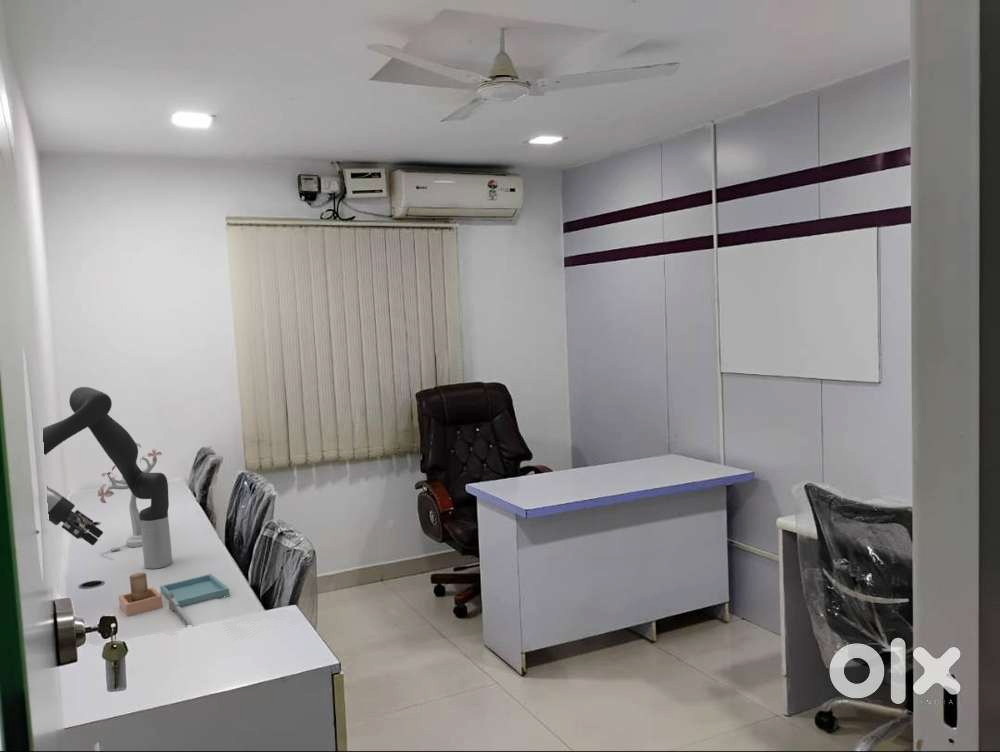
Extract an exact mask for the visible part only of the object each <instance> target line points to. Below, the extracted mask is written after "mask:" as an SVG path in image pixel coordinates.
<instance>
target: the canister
mask: <svg viewBox="0 0 1000 752" xmlns="http://www.w3.org/2000/svg"><path fill="white" fill-rule="evenodd" d="M129 584H130V593H131V595H132V602H136V601H140V600H144V599H148V581H147V573H146V572H137V573H133V574H131V575H129Z"/></svg>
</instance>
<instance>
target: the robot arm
mask: <svg viewBox="0 0 1000 752" xmlns="http://www.w3.org/2000/svg"><path fill="white" fill-rule="evenodd" d="M69 396H70V397H69V402H68V403H69V407H70V409H71V410H72V412H73V414H71V415H70V416H68V417H66V418H64V419H62V420H60V421H58V422H55V423H52V424H50V425H47V426H45V427H43V442H44V454H45V456H47V455H48V454H49V453H50V452H51V451H52V450H54V449H55V448H56V447H58V446H59V445H60V444H63V442H65V441H67V440H68V439H70V438H71V437H73V436H74V435H76V434H77V433H80V432H81V431H83V430H85V429H89V430H90V432H91V434H92V435H93V436H94V438H95V440H96V441H97V442H98V444H99V445H100V446H101V448H102V450H103V451H104V452H105V454H106V456H107V457H108V458H109V459H110V460H111V462H112V463H113V464H114V466H115V465H116V467H115V468H116V469H118V471H119V473H120V474H121V476H123V477H124V479H125V481H126V483H127V485H128V487H129V489H128V490H129V491H130V492H131V493H133V495H134V496H135V497H136V499H140V500H150V506H148V507H146V508H144V509H142V510H140V511H139V516H140V526H141V536H142V546H141V547H142V552H143V553H142V554H143V565H144V568H145V569H151V570H152V569H161V568H165V567H168V566H170V565H172V564H173V554H172V552H173V551H172V543H171V541H172V540H171V533H170V531H171V530H170V521H169V506H170V503H169V501H170V500H169V483H168V478H167V476H166V475H165V474H164V473H163V472H149V473H144V472H142V471H143V470H141V468H140V467H139V466H138V464H137V460H138V457H139V447H138V446H137V445H136V443H137V442H136V441H135V440H134V439H133V437H132V436H131V435H130V433H129V432H128V431H127V430H126V429H125V428H124V427H123V426H122V425H121V424H120V423H118V421H116V420H115V419H114V418H113V417H111V415H109V413H110V411H111V408H112V405H113V404H112V399H111V397H110V396H109V395H108V394H107V393H105V392H103V391H100V390H98V389H96V388H92V387H90V386H89V387H88V386H79V387H76V389H74V390H72V392H71V394H70V395H69ZM123 477H122V478H123ZM46 486H47V503H48V514H49V520H48V521H49V522H50V523H52V524H53V525H55V526H58V525H60V523H62V525H61V527H62V529H64V531H66V532H67V533H68V534H70V535H72V536H73V537H75V538H76V539H78V540H79V539H83V540H84V541H85V542H87V543H89V544H90V545H91V546H94V545H95V544H96V543H97V542H98V541H99V540H98V538H100V537H101V536H102V535H103V534H104V531H103V530H102V529H100V528H99V527H97V526H96V525H95V524H94V520H92V519H91V518H90V517H88V516H87V515H85V514H84V513H83V512H81V511H79V510H78V509H77V510H75V512H74V511H73V509H74V508H75V504H74V503H72V502H71V501H70V500H68V499H67V498H66V497H64V496H63V495H61V494H60V493H59V492H57V491H56V490H54V489H53V488H50V487H49V486H48V485H46Z"/></svg>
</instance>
